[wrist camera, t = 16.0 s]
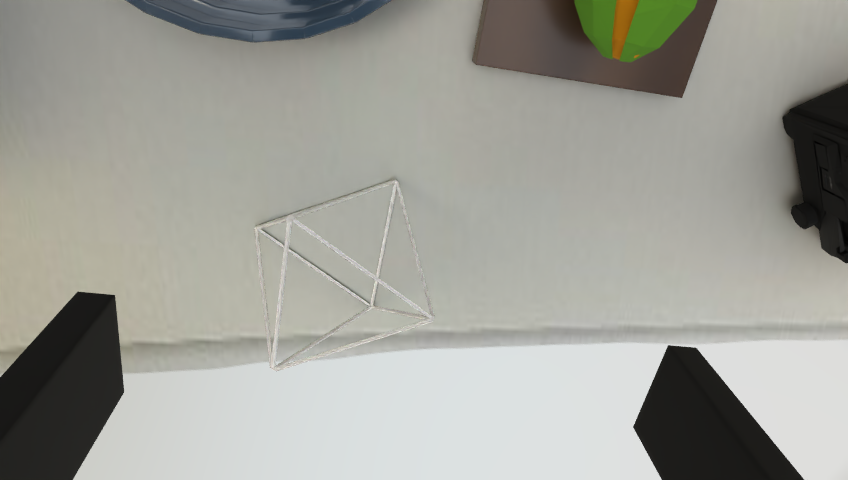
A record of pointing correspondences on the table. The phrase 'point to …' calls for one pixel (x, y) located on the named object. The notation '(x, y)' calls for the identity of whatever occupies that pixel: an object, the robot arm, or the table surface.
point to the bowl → (260, 16)
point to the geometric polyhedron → (289, 219)
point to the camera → (823, 167)
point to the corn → (631, 24)
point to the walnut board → (583, 46)
